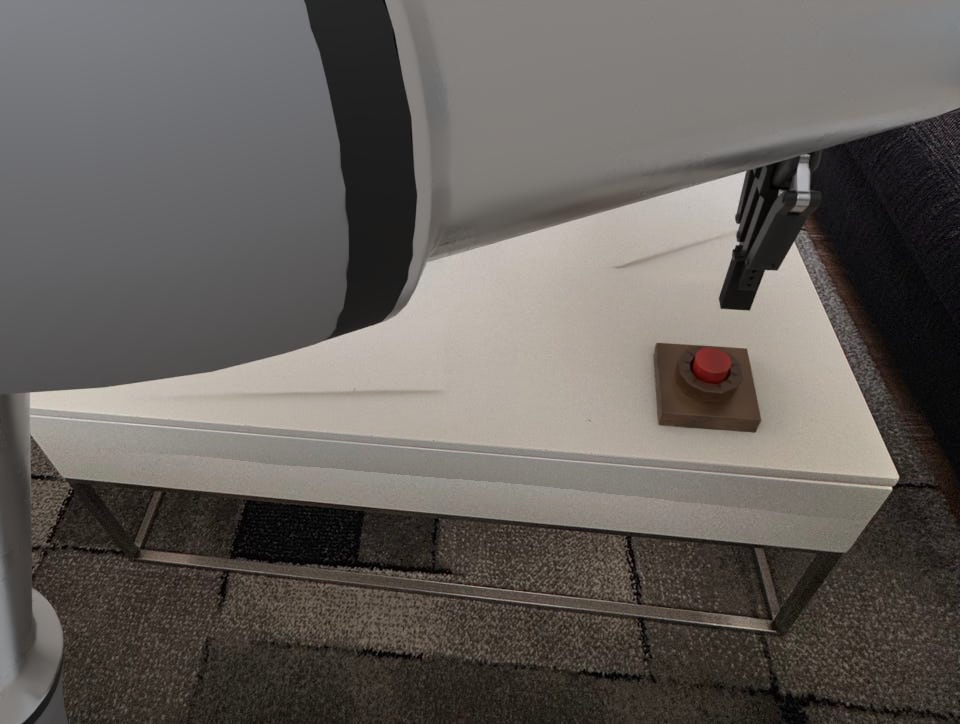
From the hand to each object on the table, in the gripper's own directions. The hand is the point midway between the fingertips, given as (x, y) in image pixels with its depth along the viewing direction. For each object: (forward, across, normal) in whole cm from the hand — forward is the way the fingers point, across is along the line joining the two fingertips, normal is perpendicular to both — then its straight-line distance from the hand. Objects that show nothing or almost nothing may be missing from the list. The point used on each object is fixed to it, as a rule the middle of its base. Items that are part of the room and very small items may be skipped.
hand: (734, 304), depth 65 cm
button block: (+13, 0, 0) cm, 13 cm away
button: (+10, 0, 0) cm, 10 cm away
